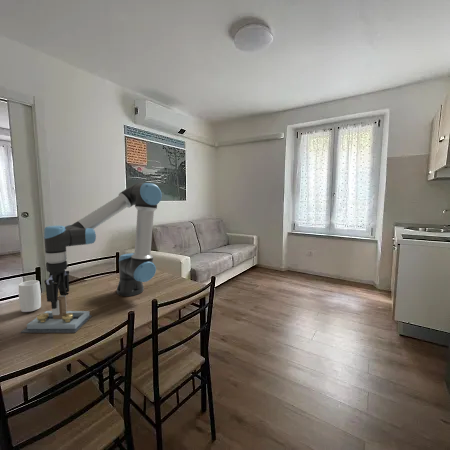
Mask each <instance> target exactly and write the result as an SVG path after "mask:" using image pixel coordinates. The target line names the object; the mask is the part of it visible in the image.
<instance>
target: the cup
mask: <svg viewBox="0 0 450 450" xmlns="http://www.w3.org/2000/svg"><path fill="white" fill-rule="evenodd" d="M41 296H42V292H41V284H40V281H39V280H36V279H34V280H33V279H32V280H26V281H23V282H20V283H19V284H18V302H19V308H20V311H21V312H23V313H30V312H33V311H37V310H38V309H40V308H41V307H42V297H41Z"/></svg>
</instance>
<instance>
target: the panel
mask: <svg viewBox="0 0 450 450" xmlns="http://www.w3.org/2000/svg"><path fill="white" fill-rule="evenodd" d="M57 300H59V310H60V314H59V315H52V310H46V311H44V312H43V313H48V315H49V317H53V319H49V320H47V321H46V322H45V323H41V321H38V320H37V317H35V318H34V319H33V320H30V321H29V322H28V323H27V324H26V328H27V329H76V328H77V327H78V326H79V325H80V324H81V323H82V322H83V321H84V320H85V319H86V318H87V317H88V316H89V315H91V314H90V313H91V312H90V310H67V309H66V306H67V296H66V297H59V296H58V299H57ZM66 313H73V317H79V318H78V319H73V320H72V321H71V322H70V323H66V322H65V321H63V320H62V315H64V314H66Z"/></svg>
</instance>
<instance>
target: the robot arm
mask: <svg viewBox="0 0 450 450" xmlns="http://www.w3.org/2000/svg"><path fill="white" fill-rule="evenodd" d="M162 195H163V194H162V191H161V189H160V188H159V186H158V185H156V184H155V183H152V182H141V183H139V182H137V183H134V184H132V185H130V186H129V187H127V188H126V189H124V190H122V191H121V192H119V193H118V195H117V196H115V198H113V199H112V200H110V201H108V202H106V203H105V204H103V205H102V206H100V207H98V208H97V209H95V210H93V211H92V212H90V213H88V214H87V215H85V216H83V217H82V218H80V219H78V220H77V221H76V222H74V223H72V224H69V225H65V226H64V225H47V226H46V227H44V230H43V231H44V233H43V234H44V235H43V238H44V241H43V242H44V252H45V262H46V264H45V265H46V266H45V269H46V272H48V273H49V275H48V279H45V280H44V285H45V293H46V294H45V295H46V302H48V303H51V305H50V306H51V311H52V315H59V314H60V310H59V300H57V299H58V297H66V298H67V296H68V295H69V292H70V283H69V282H70V279H69V275H70V271H69V270H67V269H68V261H67V258H68V257H67V247H75V246H83V245H84V246H85V245H87V246H88V245H92V244H94V243H95V242H96V240H97V235H96V231H95V229H96V228H98V227H99V226H100V225H102V224H103V223H105V222H107V221H108V220H109V219H111V218H113V217H114V216H116V215H117V214H119V213H120V212H122V211H123V210H125V209H126V208H131V207H133V206H134V207H135V208H136V210H137V213H136V228H135V240H134V252H131V253H124V254H121V255H120V256H119V258H118V269H119V272H118V273H119V281H118V284H117V287H116V294H117V295H118V296H120V297H121V296H122V297H132V296H137V295H140V294H142V293H143V292H144V283H147V282H149V281H150V280H152V279H153V277H155V275H156V273H157V272H156V271H157V266H156V265H155V264H154V256H153V255H152V254H151V253H152V251H151V250H152V239H153V227H154V216H155V215H154V213H155V211H156V210H158V204H159V203H161V201H162ZM67 309H68V308H67V305H66V310H67Z"/></svg>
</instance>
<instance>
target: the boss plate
mask: <svg viewBox="0 0 450 450" xmlns="http://www.w3.org/2000/svg"><path fill="white" fill-rule="evenodd" d="M92 317H93V316H92V315H91V314H90V315H89V316H88V317H87V318H86V319H85V320H84V321H83V322H82V323H81V324H80V325H79V326H78V327H77V328H76V329H27V327H25V328H24V329H23V330H21V331H20V333H21V334H75V333H77V332H78V331H79V330H80V329H81V328H82V327H83V326H84V325H85V324H86V323H87V322H89V320H90V319H91V318H92ZM36 318H37V320H38V321H41V323H45V322H46V321H47V320H49V319H53V317H49V315H48V313H44V312H43V313H39V314H38V315H37V316H36ZM78 318H79V317H73V313H66V314H64V315H62V320H63V321H65V322H66V323H70V322H71V321H72V320H73V319H78Z"/></svg>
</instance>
